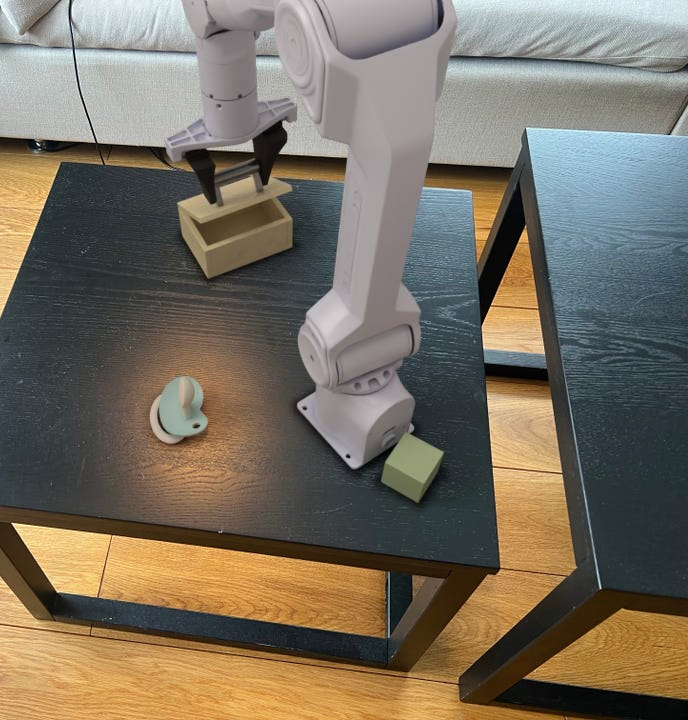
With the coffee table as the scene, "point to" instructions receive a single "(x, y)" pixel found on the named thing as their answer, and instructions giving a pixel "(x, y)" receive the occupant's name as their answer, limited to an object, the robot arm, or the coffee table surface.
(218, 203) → the lid
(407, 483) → the block
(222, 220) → the wooden box
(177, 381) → the pacifier
